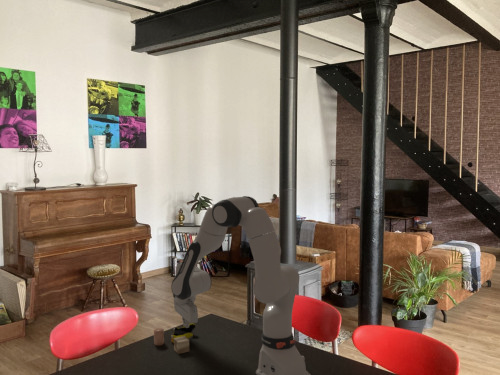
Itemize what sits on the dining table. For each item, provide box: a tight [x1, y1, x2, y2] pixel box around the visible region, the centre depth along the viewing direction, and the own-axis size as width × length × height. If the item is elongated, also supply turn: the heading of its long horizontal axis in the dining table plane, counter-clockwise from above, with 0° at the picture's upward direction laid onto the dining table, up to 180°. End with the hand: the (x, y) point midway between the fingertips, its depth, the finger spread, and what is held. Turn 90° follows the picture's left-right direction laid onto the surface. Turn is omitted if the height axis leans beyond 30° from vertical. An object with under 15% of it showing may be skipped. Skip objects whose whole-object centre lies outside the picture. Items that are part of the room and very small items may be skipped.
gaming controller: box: [170, 323, 196, 344], centre depth 207 cm, size 15×6×10 cm
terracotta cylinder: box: [153, 327, 165, 347], centre depth 203 cm, size 4×4×6 cm
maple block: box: [173, 336, 190, 355], centre depth 196 cm, size 5×5×5 cm
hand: (186, 326), depth 207 cm, fingers closed
